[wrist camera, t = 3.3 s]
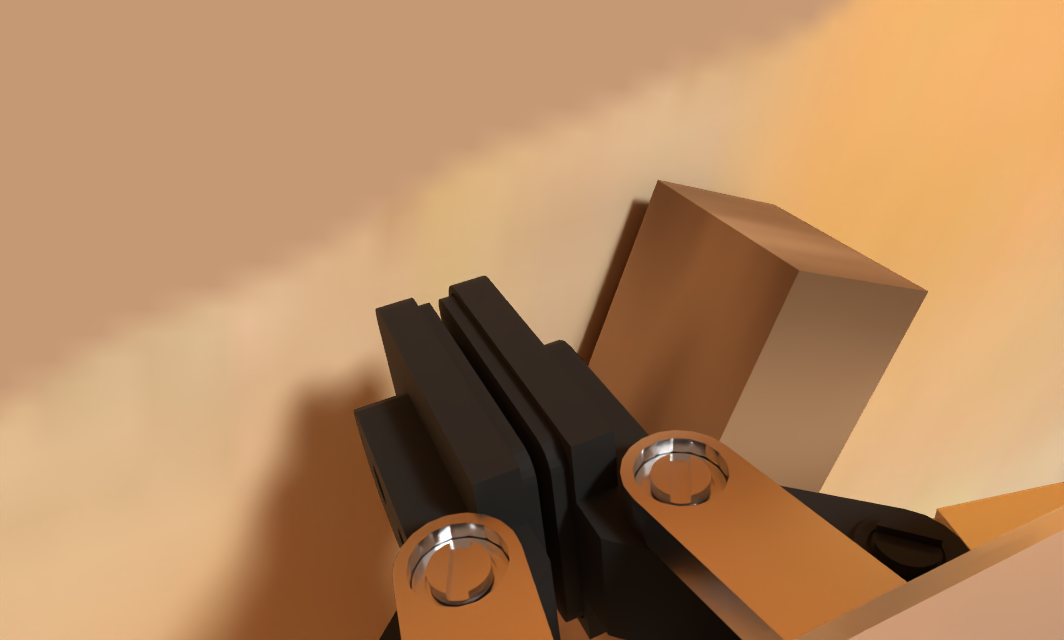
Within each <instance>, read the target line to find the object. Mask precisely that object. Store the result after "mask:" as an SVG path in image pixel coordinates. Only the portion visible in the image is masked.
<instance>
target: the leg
mask: <svg viewBox="0 0 1064 640" xmlns="http://www.w3.org/2000/svg"><path fill="white" fill-rule="evenodd" d="M927 293H928V291H927V290H925V289H923V288H921V287H920V286H918V285H916V284H914V283H912V282H911V281H909V280H907V279H905V278H904V277H902V276H900V275H898V274H896V273H895V272H893V271H891V270H889V269H888V268H886V267H884V266H882V265H880V264H879V263H877V262H875V261H873V260H872V259H870V258H868V257H866V256H864V255H863V254H861V253H859V252H857V251H856V250H854V249H852V248H850V247H848V246H847V245H845V244H843V243H841V242H840V241H838V240H836V239H834V238H832V237H831V236H829V235H827V234H825V233H824V232H822V231H820V230H818V229H816V228H815V227H813V226H811V225H809V224H808V223H806V222H804V221H802V220H800V219H799V218H797V217H795V216H793V215H792V214H790V213H788V212H786V211H784V210H783V209H781V208H779V207H777V206H776V205H773V204H768V203H764V202H759V201H754V200H750V199H745V198H740V197H736V196H731V195H726V194H721V193H717V192H712V191H707V190H703V189H698V188H693V187H689V186H684V185H679V184H675V183H670V182H665V181H661V180H658V181H657V184H656V187H655V189H654V192H653V195H652V197H651V200H650V203H649V205H648V208H647V210H646V213H645V216H644V218H643V221H642V224H641V226H640V229H639V232H638V234H637V237H636V240H635V242H634V245H633V248H632V250H631V253H630V256H629V258H628V261H627V264H626V266H625V269H624V272H623V274H622V277H621V280H620V282H619V285H618V288H617V290H616V293H615V296H614V298H613V301H612V304H611V306H610V309H609V312H608V314H607V317H606V320H605V322H604V325H603V328H602V330H601V333H600V336H599V338H598V341H597V344H596V346H595V349H594V352H593V354H592V357H591V360H590V362H589V365H588V367H589V368H590V369H591V370H592V371H593V372H594V374H595V375H596V376H597V377H598V378H599V379H600V380H601V381H602V383H603V384H604V385H605V386H606V387H607V388H608V389H609V390H610V392H611V393H612V394H613V395H614V396H615V397H616V398H617V400H618V401H619V402H620V403H621V404H622V405H623V406H624V407H625V409H626V410H627V411H628V412H629V413H630V414H631V415H632V417H633V418H634V419H635V420H636V421H637V422H638V423H639V424H640V426H641V427H642V428H643V429H644V430H645V431H646V432H647V434H648V435H649V436H650V435H652V434H655V433H657V432H664V431H671V430H683V431H694V432H698V433H701V434H705V435H708V436H711V437H713V438H714V439H716V440H718V441H720V442H722V443H723V444H725V445H726V446H728V447H729V448H730V449H732V450H733V451H734V452H736V453H737V454H738V455H740V456H741V457H742V458H744V459H745V460H746V461H748V462H749V463H750V464H752V465H753V466H754V467H756V468H757V469H758V470H760V471H761V472H762V473H763V474H765V475H766V476H767V477H769V478H770V479H771V480H773V481H774V482H775V483H777V484H778V485H780V486H785V487H790V488H796V489H801V490H806V491H811V492H817V493H819V491H820V489H821V488H822V486H823V484H824V482H825V480H826V478H827V477H828V475H829V473H830V471H831V469H832V467H833V466H834V464H835V462H836V460H837V458H838V456H839V455H840V453H841V451H842V449H843V447H844V445H845V443H846V442H847V440H848V438H849V436H850V434H851V432H852V431H853V429H854V427H855V425H856V423H857V421H858V420H859V418H860V416H861V414H862V412H863V410H864V409H865V407H866V405H867V403H868V401H869V399H870V398H871V396H872V394H873V392H874V390H875V388H876V386H877V385H878V383H879V381H880V379H881V377H882V375H883V374H884V372H885V370H886V368H887V366H888V364H889V363H890V361H891V359H892V357H893V355H894V353H895V352H896V350H897V348H898V346H899V344H900V342H901V341H902V339H903V337H904V335H905V333H906V331H907V330H908V328H909V326H910V324H911V322H912V320H913V318H914V317H915V315H916V313H917V311H918V309H919V307H920V306H921V304H922V302H923V300H924V298H925V296H926V295H927ZM557 616H558V623H559V631H560V639H561V640H624V639H620V638H616V637H613V636H609V635H608V634H607V632H605V633H603V634H601V635H599V636H597V637H595V638H593V639H589V637H588V636H587V634H586V632H585V630H584V629H583V627H582V625H581V624H580V622H579V620H578V618H576V619H574V620H572V621H569V622H565V621H564V620H563V618H562V617H561V615H560V613H559V612H558V610H557Z"/></svg>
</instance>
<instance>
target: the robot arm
mask: <svg viewBox="0 0 1064 640" xmlns="http://www.w3.org/2000/svg"><path fill="white" fill-rule="evenodd" d="M439 310H440V315H441V319H440V318H439V316H438V315H437V313H436V312H435V310H434V309H433V307H432V305H431V304H430V303H426V304H423V305H420V306H418V305H417V303H416V302H415V300H414V299H413V298H409V299H406V300H403V301H399V302H396V303H393V304H390V305H386V306H383V307H380V308H376V316H377V321H378V325H379V329H380V333H381V337H382V341H383V345H384V349H385V353H386V357H387V361H388V365H389V369H390V373H391V377H392V381H393V385H394V389H395V393H396V396H394V397H391V398H388V399H385V400H382V401H379V402H376V403H373V404H370V405H367V406H364V407H361V408H358V409H355V410H354V414H355V418H356V422H357V425H358V429H359V432H360V436H361V439H362V442H363V446H364V449H365V452H366V456H367V459H368V462H369V465H370V468H371V471H372V474H373V477H374V480H375V483H376V486H377V489H378V492H379V495H380V498H381V500H382V503H383V506H384V508H385V511H386V513H387V516H388V519H389V521H390V524H391V526H392V529H393V531H394V534H395V537H396V539H397V542H398V544H399V547H400V550H399V553H398V555H397V557H396V560H395V562H394V564H393V587H394V593H395V600H396V607H397V611H396V612H395V614H394V616H393V617H392V619H391V621H390V623H389V624H388V626H387V628H386V629H385V631H384V633H383V634H382V636H381V638H380V639H379V640H561V639H560V631H559V623H558V616H557V610H558V612H559V613H560V615H561V617H562V618H563V620H564V621H565V622H569V621H572V620H574V619H576V618H578V620H579V622H580V624H581V625H582V627H583V629H584V630H585V632H586V634H587V636H588V637H589V639H593V638H595V637H597V636H599V635H601V634H603V633H605V632H607V634H608V635H609V636H613V637H616V638H620V639H624V640H1064V482H1061V483H1056V484H1051V485H1047V486H1042V487H1037V488H1033V489H1028V490H1023V491H1018V492H1014V493H1009V494H1004V495H1000V496H995V497H990V498H985V499H981V500H976V501H971V502H967V503H962V504H957V505H953V506H948V507H943V508H938V509H937V511H936V515H935V518H933V519H932V518H930V517H928V516H926V515H923V514H920V513H916V512H913V511H909V510H906V509H901V508H896V507H891V506H886V505H880V504H875V503H870V502H864V501H859V500H854V499H849V498H843V497H838V496H833V495H827V494H822V493H817V492H811V491H806V490H801V489H796V488H790V487H785V486H780V485H778V484H777V483H775V482H774V481H773V480H771V479H770V478H769V477H767V476H766V475H765V474H763V473H762V472H761V471H760V470H758V469H757V468H756V467H754V466H753V465H752V464H750V463H749V462H748V461H746V460H745V459H744V458H742V457H741V456H740V455H738V454H737V453H736V452H734V451H733V450H732V449H730V448H729V447H728V446H726V445H725V444H723V443H722V442H720V441H718V440H716V439H714V438H713V437H711V436H708V435H705V434H701V433H698V432H694V431H683V430H671V431H664V432H657V433H655V434H652V435H650V436H649V435H648V434H647V432H646V431H645V430H644V429H643V428H642V427H641V426H640V424H639V423H638V422H637V421H636V420H635V419H634V418H633V417H632V415H631V414H630V413H629V412H628V411H627V410H626V409H625V407H624V406H623V405H622V404H621V403H620V402H619V401H618V400H617V398H616V397H615V396H614V395H613V394H612V393H611V392H610V390H609V389H608V388H607V387H606V386H605V385H604V384H603V383H602V381H601V380H600V379H599V378H598V377H597V376H596V375H595V374H594V372H593V371H592V370H591V369H590V368H589V367H588V366H587V364H586V363H585V362H584V361H583V360H582V359H581V358H580V357H579V355H578V354H577V353H576V352H575V351H574V350H573V349H572V347H571V346H570V345H569V344H567V343H566V342H565V341H563V340H558V341H555V342H552V343H549V344H546V345H543V343H542V342H541V341H540V340H539V338H538V337H537V336H536V335H535V334H534V332H533V331H532V330H531V329H530V328H529V326H528V325H527V324H526V323H525V322H524V320H523V319H522V318H521V317H520V316H519V314H518V313H517V312H516V311H515V310H514V308H513V307H512V306H511V305H510V304H509V302H508V301H507V300H506V299H505V298H504V296H503V295H502V294H501V293H500V292H499V290H498V289H497V288H496V287H495V286H494V284H493V283H492V282H491V281H490V280H489V278H487V277H486V276H481V277H478V278H475V279H471V280H468V281H465V282H461V283H458V284H455V285H452V286H450V287H449V297H446V298H442V299H439ZM441 320H442V321H441Z"/></svg>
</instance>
